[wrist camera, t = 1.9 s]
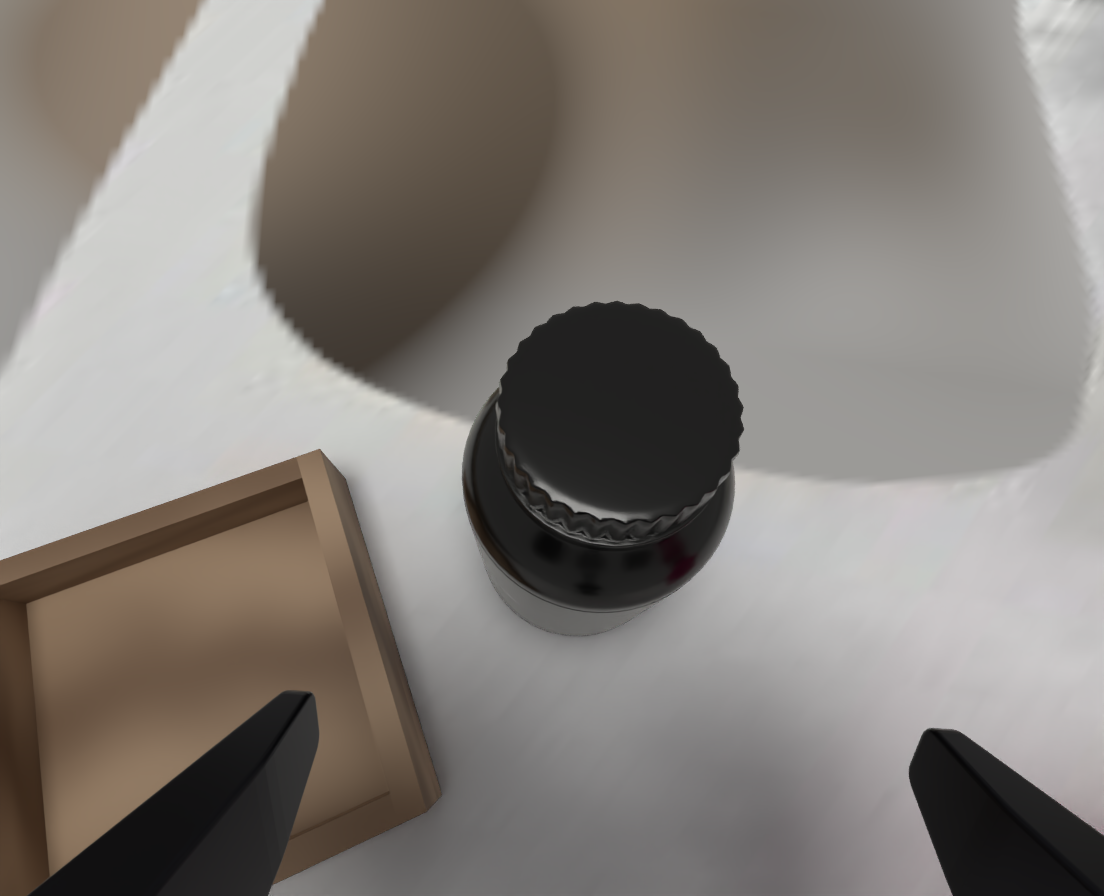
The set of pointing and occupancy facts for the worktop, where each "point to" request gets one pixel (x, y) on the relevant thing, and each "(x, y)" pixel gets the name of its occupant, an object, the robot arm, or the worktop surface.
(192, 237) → the worktop surface
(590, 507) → the supplement bottle
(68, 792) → the tray
